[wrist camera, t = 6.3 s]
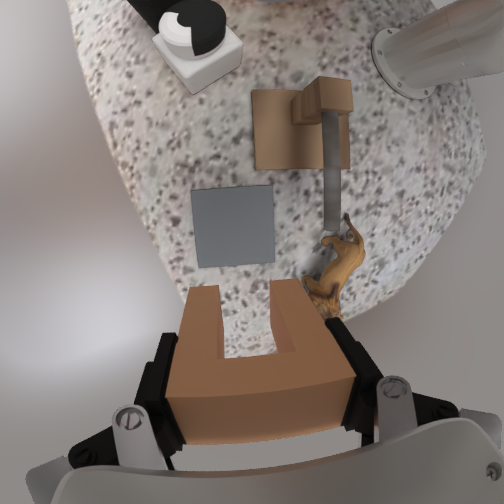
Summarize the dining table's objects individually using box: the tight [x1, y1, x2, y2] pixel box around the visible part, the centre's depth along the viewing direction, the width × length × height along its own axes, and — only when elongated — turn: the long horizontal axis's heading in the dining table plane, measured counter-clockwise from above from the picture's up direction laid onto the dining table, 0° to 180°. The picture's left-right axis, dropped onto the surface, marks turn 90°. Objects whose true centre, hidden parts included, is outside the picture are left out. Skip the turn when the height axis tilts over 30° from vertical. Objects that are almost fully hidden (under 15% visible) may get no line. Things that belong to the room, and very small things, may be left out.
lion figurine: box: [302, 213, 365, 322], centre depth 33 cm, size 15×5×9 cm, turn 162°
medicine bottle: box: [152, 0, 243, 94], centre depth 21 cm, size 7×7×12 cm
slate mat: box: [191, 185, 275, 268], centre depth 34 cm, size 10×10×1 cm
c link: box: [165, 278, 356, 445], centre depth 12 cm, size 6×3×8 cm, turn 93°
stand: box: [251, 76, 354, 231], centre depth 26 cm, size 12×16×12 cm
